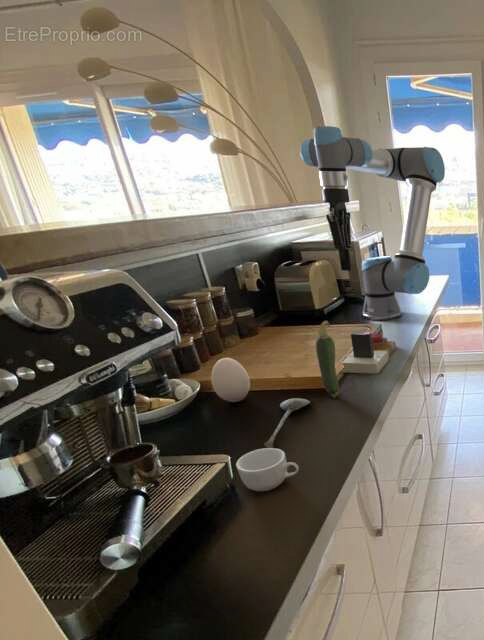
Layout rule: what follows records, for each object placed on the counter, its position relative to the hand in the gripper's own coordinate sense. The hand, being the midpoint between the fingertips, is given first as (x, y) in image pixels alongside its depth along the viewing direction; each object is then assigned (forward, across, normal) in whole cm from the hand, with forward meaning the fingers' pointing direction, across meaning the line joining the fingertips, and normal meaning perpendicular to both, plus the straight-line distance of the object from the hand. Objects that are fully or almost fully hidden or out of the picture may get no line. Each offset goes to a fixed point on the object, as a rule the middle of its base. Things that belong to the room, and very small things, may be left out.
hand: (346, 270), depth 141 cm
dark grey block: (+21, -20, -10) cm, 31 cm away
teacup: (+25, -78, -13) cm, 83 cm away
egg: (+25, -46, +14) cm, 54 cm away
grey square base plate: (+24, -20, -10) cm, 33 cm away
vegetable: (+25, -41, -9) cm, 49 cm away
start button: (+21, -8, -10) cm, 24 cm away
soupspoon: (+25, -56, -4) cm, 61 cm away
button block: (+24, -8, -10) cm, 28 cm away
